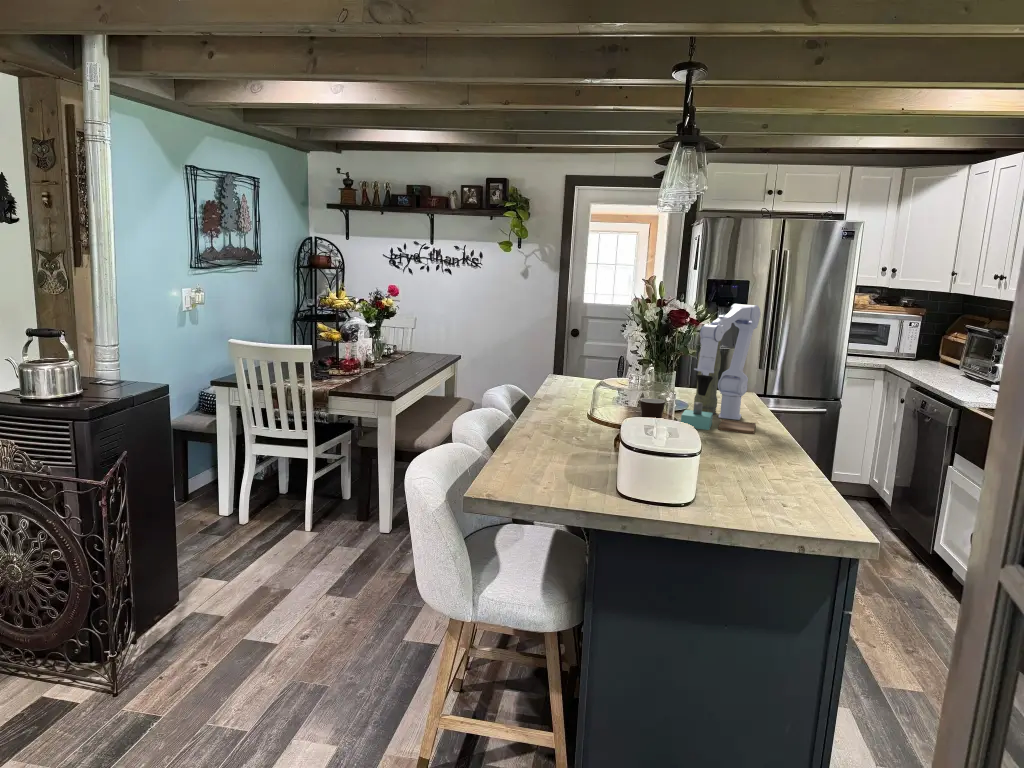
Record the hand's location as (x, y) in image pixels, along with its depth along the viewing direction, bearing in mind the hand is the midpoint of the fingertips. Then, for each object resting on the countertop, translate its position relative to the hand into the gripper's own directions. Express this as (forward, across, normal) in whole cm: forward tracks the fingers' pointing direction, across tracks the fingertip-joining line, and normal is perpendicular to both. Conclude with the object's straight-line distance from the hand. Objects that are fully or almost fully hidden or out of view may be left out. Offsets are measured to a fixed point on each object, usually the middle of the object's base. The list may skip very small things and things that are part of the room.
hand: (701, 394), depth 248 cm
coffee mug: (+14, +7, -15) cm, 22 cm away
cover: (+12, -2, 0) cm, 12 cm away
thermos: (+8, -28, +4) cm, 29 cm away
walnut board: (+10, -4, +14) cm, 18 cm away
